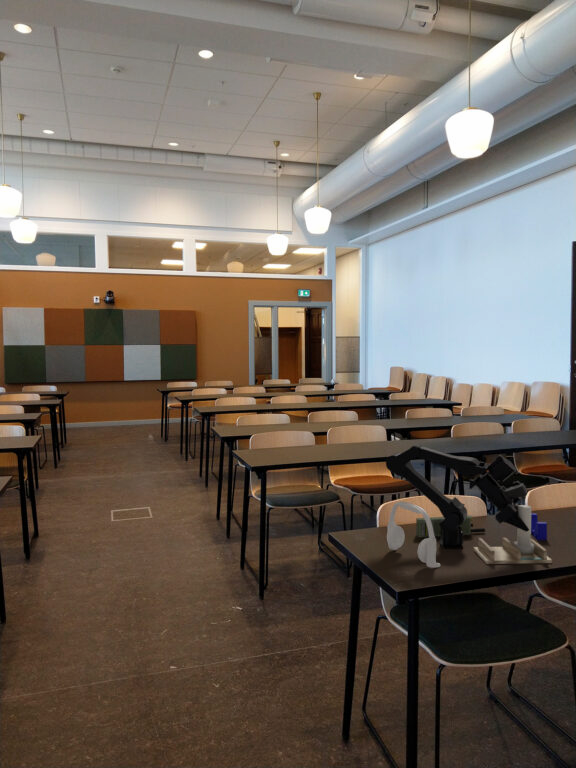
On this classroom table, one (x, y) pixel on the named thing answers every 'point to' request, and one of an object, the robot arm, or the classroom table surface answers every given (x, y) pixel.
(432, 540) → the headset
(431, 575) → the classroom table surface
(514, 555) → the slot rack
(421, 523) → the handheld radio
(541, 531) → the blue curved cradle
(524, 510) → the white bulb knob
